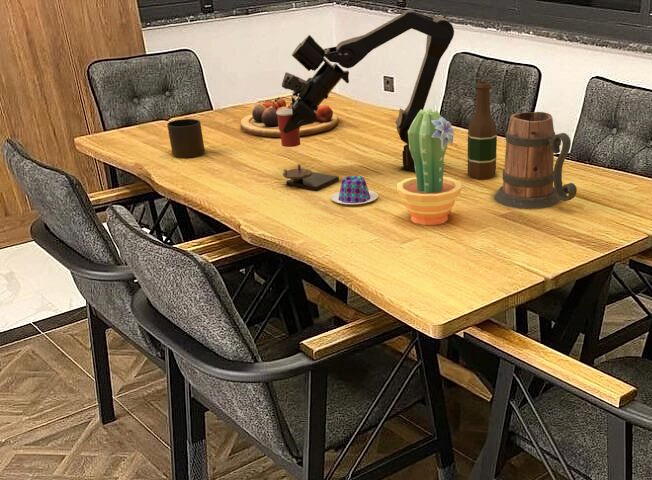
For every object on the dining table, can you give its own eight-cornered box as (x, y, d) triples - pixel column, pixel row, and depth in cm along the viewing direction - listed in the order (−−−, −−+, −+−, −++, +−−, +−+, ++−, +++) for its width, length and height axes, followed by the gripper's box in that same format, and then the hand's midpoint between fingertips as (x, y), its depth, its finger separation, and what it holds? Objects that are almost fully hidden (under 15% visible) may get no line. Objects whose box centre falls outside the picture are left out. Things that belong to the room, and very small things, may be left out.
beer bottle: (493, 180, 223) (496, 86, 210) (465, 178, 224) (465, 85, 211) (497, 171, 229) (500, 79, 216) (469, 170, 231) (470, 79, 218)
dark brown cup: (194, 146, 256) (189, 115, 251) (210, 154, 248) (205, 123, 243) (165, 151, 251) (159, 120, 247) (179, 160, 243) (173, 128, 238)
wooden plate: (357, 121, 279) (356, 95, 275) (296, 143, 257) (293, 115, 252) (284, 110, 294) (282, 85, 289) (220, 130, 271) (216, 104, 267)
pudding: (384, 193, 215) (383, 173, 212) (369, 208, 205) (367, 187, 202) (340, 190, 218) (339, 170, 215) (323, 205, 208) (321, 184, 205)
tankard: (480, 196, 212) (481, 115, 201) (526, 182, 221) (530, 104, 210) (548, 220, 197) (554, 134, 186) (595, 204, 206) (603, 121, 195)
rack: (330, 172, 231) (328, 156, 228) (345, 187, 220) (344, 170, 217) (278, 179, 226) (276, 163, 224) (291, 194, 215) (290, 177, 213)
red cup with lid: (306, 144, 224) (303, 111, 220) (288, 148, 221) (285, 115, 216) (293, 140, 228) (289, 107, 223) (275, 144, 224) (271, 111, 220)
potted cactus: (406, 233, 191) (403, 120, 177) (390, 211, 203) (385, 105, 190) (470, 225, 194) (471, 115, 181) (450, 204, 207) (450, 99, 193)
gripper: (297, 55, 221) (260, 100, 226) (298, 68, 206) (259, 116, 211) (329, 84, 227) (292, 128, 231) (332, 99, 211) (293, 146, 216)
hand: (284, 129), depth 222 cm, fingers closed on red cup with lid, 5 cm apart
